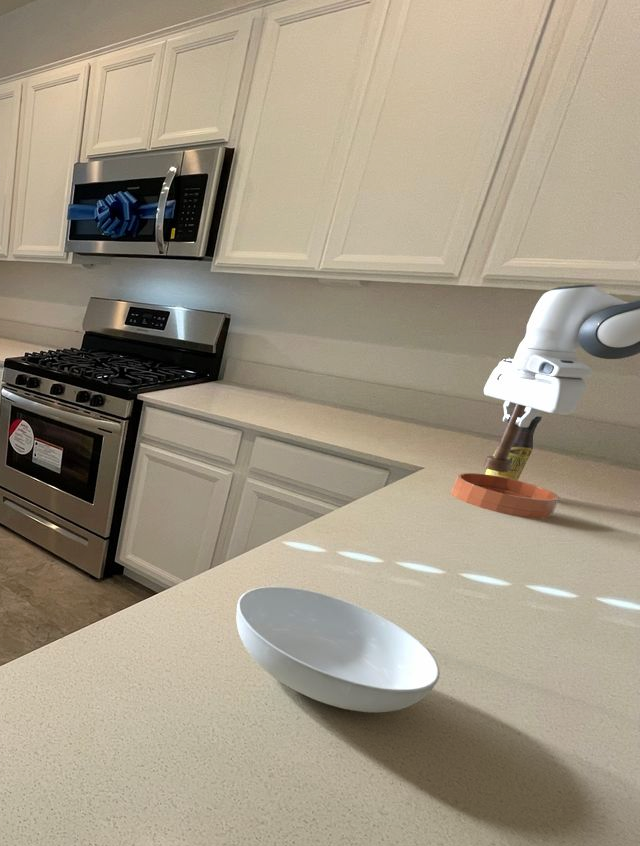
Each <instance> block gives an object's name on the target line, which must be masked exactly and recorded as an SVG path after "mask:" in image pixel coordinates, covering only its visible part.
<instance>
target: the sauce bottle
mask: <svg viewBox="0 0 640 846" xmlns="http://www.w3.org/2000/svg"><path fill="white" fill-rule="evenodd" d="M542 418H543V416H541V414H539V415H538V416H536V417H535V418H534V419H533V420H531V423H530V425H529V427H520V429H519V431H518V434H517V436H516V438H515V441H514V443H513V446H512V448H511V450H510V453H509V455H508V457H507V459H510V460H512V461H513V462H512V465H511V467H510V469H509V471H508V472H499V471H494V470H490V469H487V468H486V470H485V472H484V474H487V475H494V476H499V477H504V478H509V479H514V480H518V481H519V479H520V477H521V474H522V473H523V470H524V469H525V466H526V464H527V461H528V460H529V458H530V456H531V454H532V453H533V449H534V433H535V430H536V429H537V426H538V424H539V423H540V422H541V421H542ZM497 448H498V446H497V447H496V449H495V452H496V450H497ZM495 452H494V454H493V456H494V455H495Z"/></svg>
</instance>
